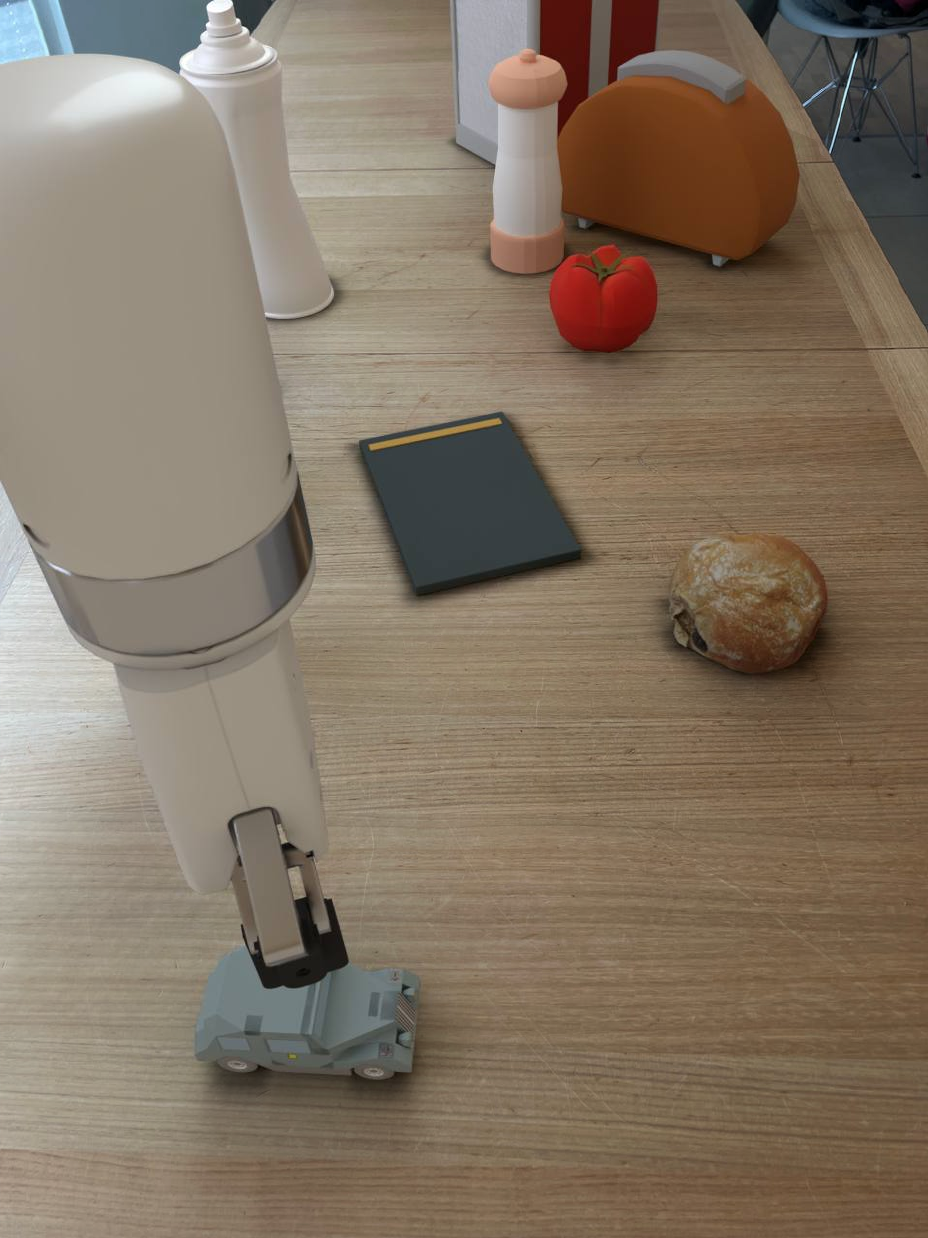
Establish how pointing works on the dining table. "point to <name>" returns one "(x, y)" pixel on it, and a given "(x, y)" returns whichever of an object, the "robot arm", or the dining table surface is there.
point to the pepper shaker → (527, 164)
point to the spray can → (260, 161)
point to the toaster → (680, 156)
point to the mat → (465, 503)
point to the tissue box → (542, 52)
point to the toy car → (309, 1021)
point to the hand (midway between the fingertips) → (284, 863)
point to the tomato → (603, 299)
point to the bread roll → (747, 601)
